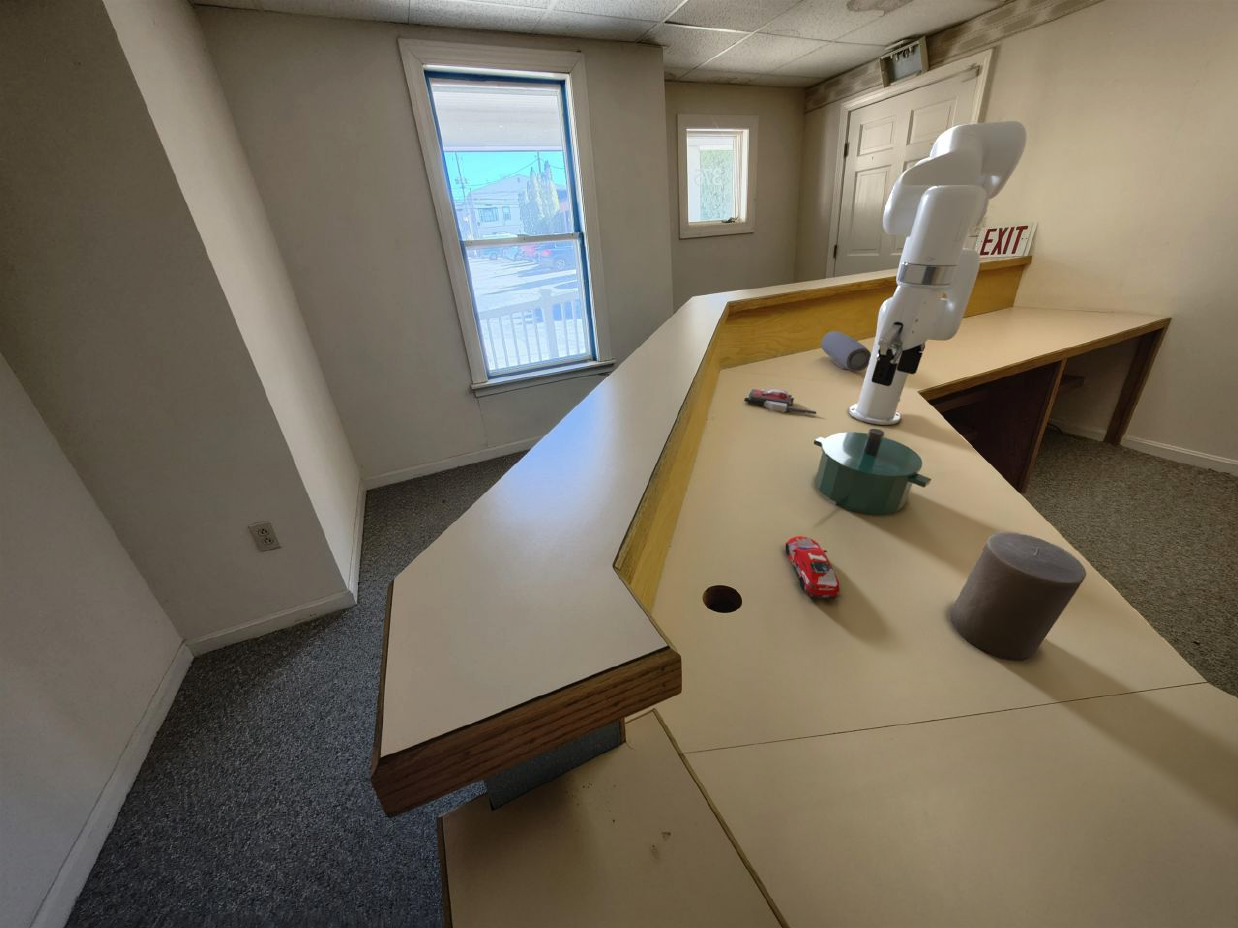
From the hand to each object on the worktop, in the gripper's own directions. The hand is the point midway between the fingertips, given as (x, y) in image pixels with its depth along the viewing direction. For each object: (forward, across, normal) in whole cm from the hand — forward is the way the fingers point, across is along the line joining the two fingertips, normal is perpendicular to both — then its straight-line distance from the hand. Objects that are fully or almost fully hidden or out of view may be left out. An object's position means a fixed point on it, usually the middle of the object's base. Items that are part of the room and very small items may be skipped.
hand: (893, 377), depth 81 cm
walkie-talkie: (+24, -25, -36) cm, 50 cm away
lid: (+16, 0, 0) cm, 16 cm away
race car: (+24, +29, +7) cm, 39 cm away
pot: (+24, 0, 0) cm, 24 cm away
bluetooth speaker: (+24, -76, -45) cm, 92 cm away
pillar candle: (+24, +20, +29) cm, 43 cm away
